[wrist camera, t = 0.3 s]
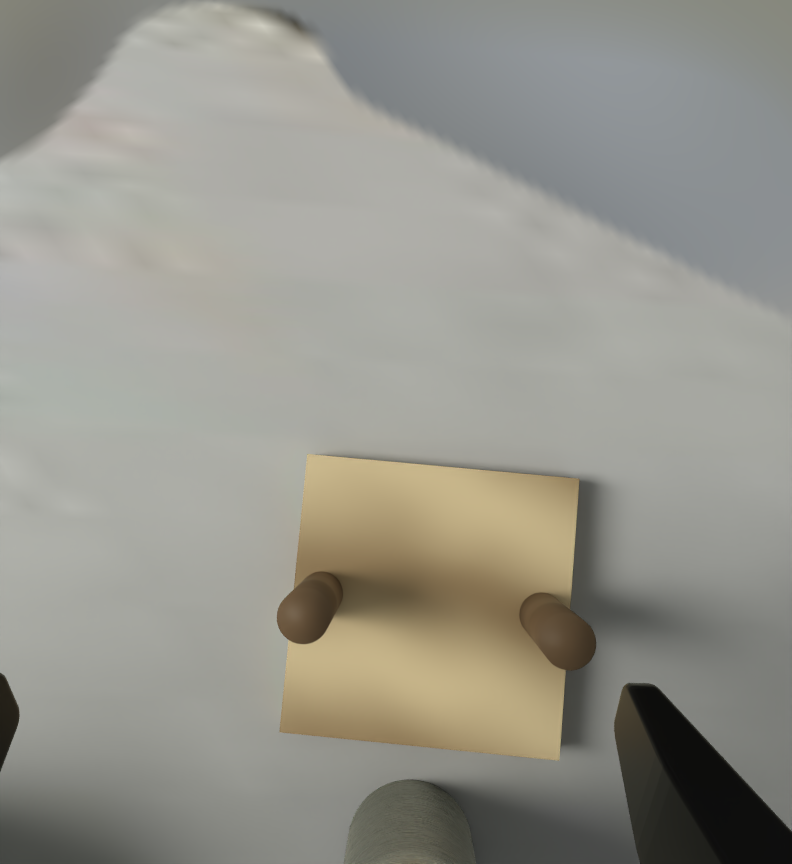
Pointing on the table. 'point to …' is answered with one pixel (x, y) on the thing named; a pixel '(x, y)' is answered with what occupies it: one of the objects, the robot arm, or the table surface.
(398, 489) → the peg rack
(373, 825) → the silver metal cylinder
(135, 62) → the table surface
